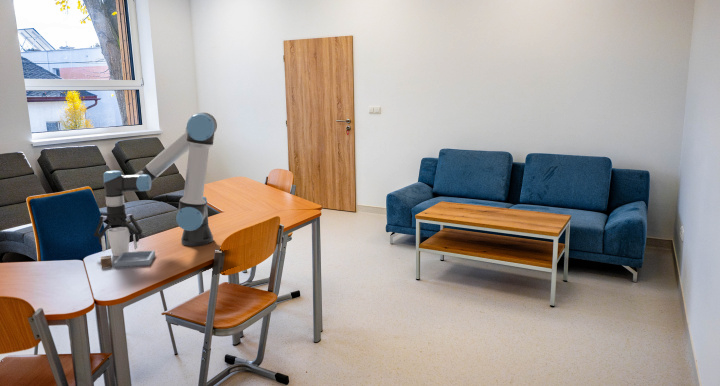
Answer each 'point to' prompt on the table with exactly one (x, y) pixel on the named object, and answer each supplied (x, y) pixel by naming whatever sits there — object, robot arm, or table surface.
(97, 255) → the table surface
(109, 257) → the walnut block
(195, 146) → the robot arm
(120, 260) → the tray
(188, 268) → the table surface
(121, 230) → the cup
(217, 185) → the table surface
